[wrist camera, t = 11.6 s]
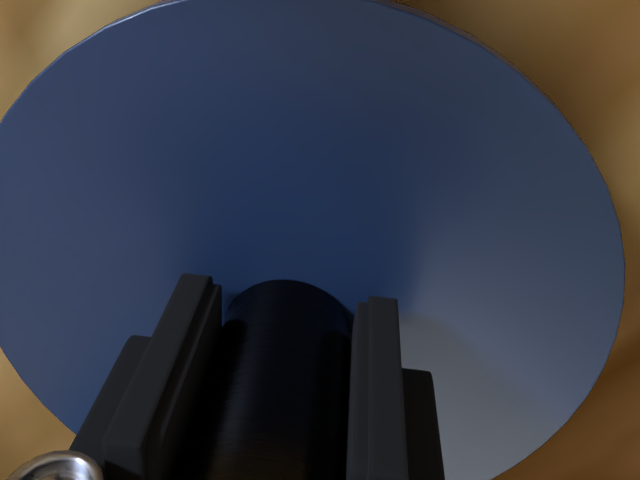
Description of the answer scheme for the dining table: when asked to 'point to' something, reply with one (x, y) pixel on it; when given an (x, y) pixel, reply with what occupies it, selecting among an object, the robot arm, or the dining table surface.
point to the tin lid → (307, 227)
